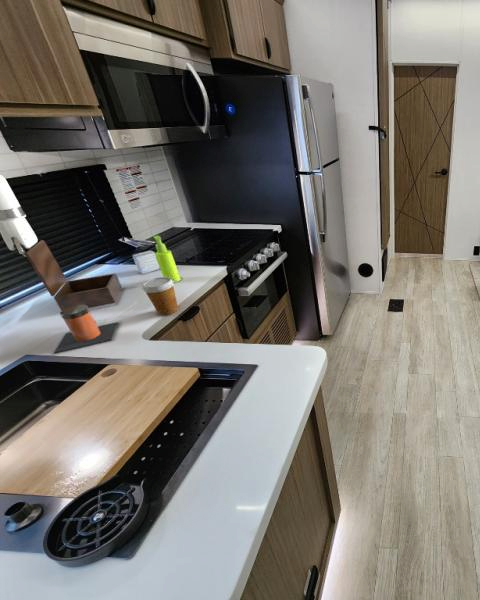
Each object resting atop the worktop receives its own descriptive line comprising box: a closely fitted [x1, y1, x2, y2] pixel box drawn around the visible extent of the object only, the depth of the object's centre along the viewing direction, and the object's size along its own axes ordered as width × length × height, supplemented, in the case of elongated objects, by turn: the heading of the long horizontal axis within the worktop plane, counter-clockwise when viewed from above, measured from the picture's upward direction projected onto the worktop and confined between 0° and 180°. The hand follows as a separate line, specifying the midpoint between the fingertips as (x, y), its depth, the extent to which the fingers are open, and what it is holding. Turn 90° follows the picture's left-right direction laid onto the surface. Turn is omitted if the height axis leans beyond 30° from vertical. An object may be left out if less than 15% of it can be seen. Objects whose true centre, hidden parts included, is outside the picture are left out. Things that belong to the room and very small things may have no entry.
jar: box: [59, 305, 101, 342], centre depth 106 cm, size 7×7×10 cm
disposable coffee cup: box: [141, 276, 179, 316], centre depth 120 cm, size 10×10×12 cm
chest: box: [53, 272, 123, 312], centre depth 129 cm, size 16×16×7 cm
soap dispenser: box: [152, 235, 182, 283], centre depth 143 cm, size 6×7×20 cm
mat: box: [54, 321, 119, 354], centre depth 108 cm, size 14×12×1 cm
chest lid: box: [25, 239, 68, 297], centre depth 120 cm, size 16×16×1 cm
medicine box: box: [131, 250, 161, 275], centre depth 155 cm, size 8×4×9 cm, turn 144°
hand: (37, 265), depth 118 cm, fingers closed
